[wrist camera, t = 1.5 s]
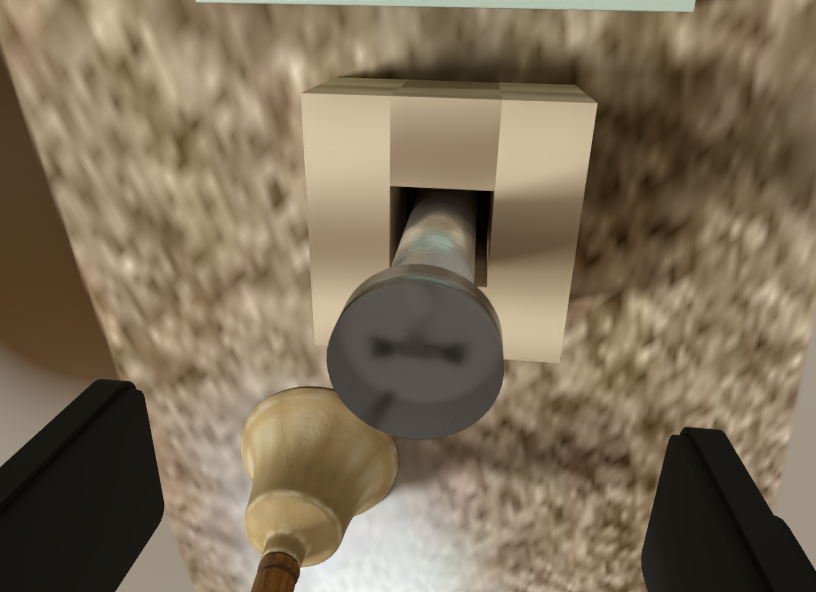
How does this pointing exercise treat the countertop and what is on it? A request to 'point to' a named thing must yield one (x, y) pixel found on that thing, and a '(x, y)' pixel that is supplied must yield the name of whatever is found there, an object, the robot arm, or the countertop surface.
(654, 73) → the countertop surface
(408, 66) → the countertop surface
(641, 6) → the tray
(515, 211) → the hitch block
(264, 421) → the hand bell
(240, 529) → the countertop surface
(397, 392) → the steel pin
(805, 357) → the countertop surface
